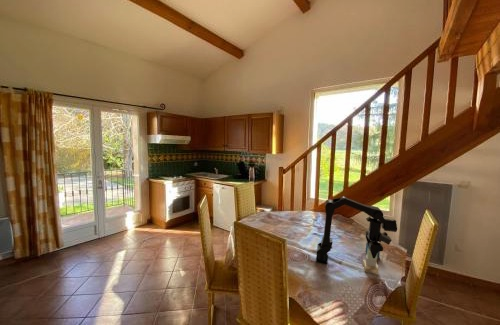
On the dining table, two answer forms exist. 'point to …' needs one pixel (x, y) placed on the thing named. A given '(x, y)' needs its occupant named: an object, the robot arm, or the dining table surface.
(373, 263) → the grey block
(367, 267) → the beech slab
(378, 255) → the perfume bottle
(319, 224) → the dining table surface
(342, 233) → the dining table surface
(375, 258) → the sage cube
